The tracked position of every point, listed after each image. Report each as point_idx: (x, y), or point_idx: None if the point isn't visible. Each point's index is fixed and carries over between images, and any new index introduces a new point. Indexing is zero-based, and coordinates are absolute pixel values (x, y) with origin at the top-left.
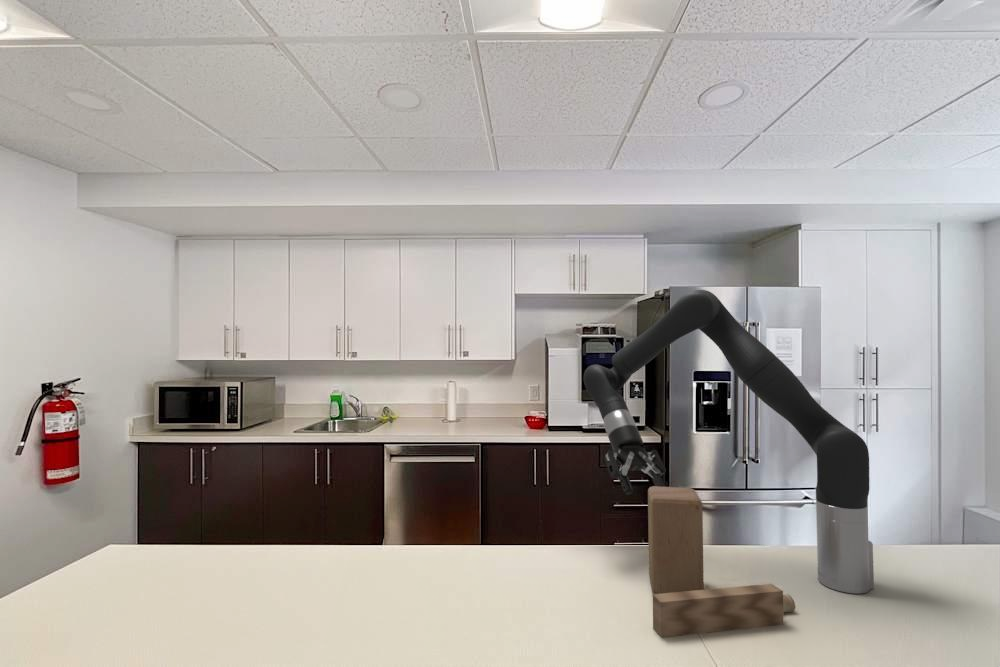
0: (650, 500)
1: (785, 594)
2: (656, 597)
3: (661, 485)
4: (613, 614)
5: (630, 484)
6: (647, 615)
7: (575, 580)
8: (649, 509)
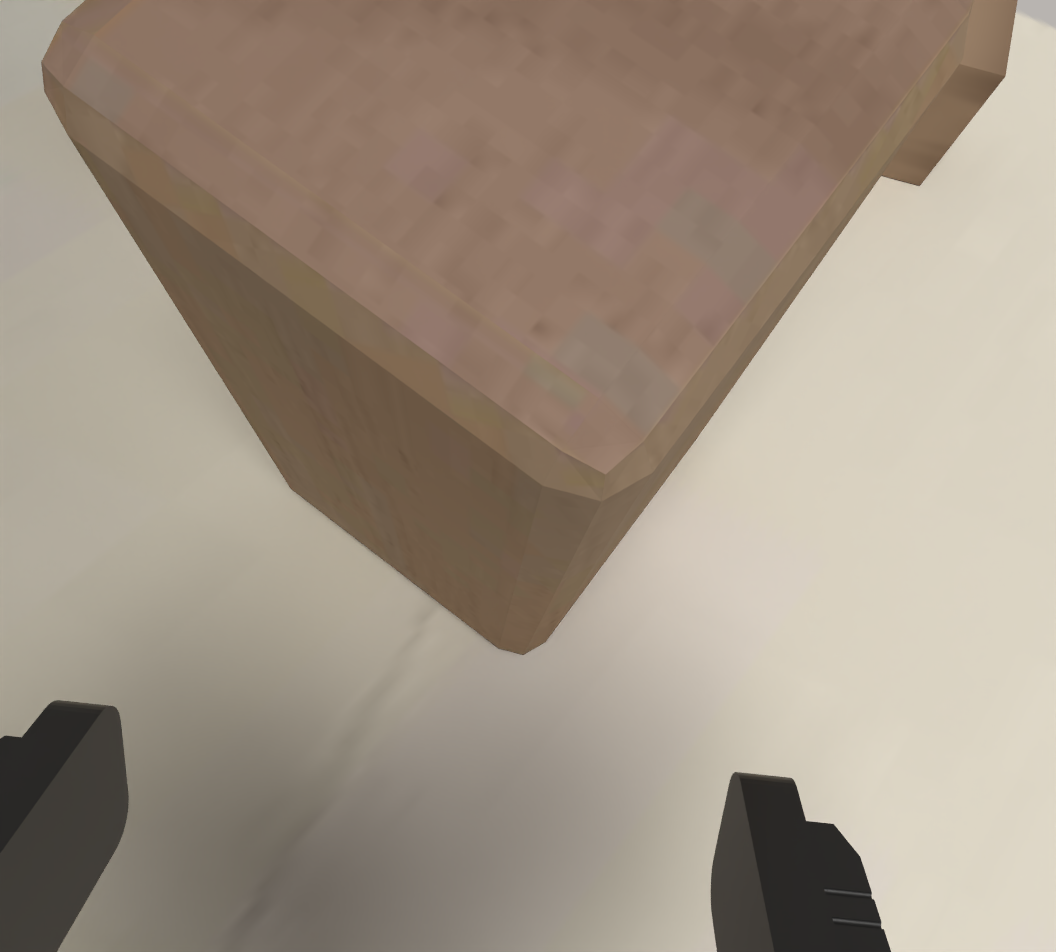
0: (905, 136)
1: None
2: (1007, 41)
3: (70, 740)
4: (1034, 371)
5: (773, 855)
6: (868, 286)
7: (1052, 847)
8: (749, 351)
